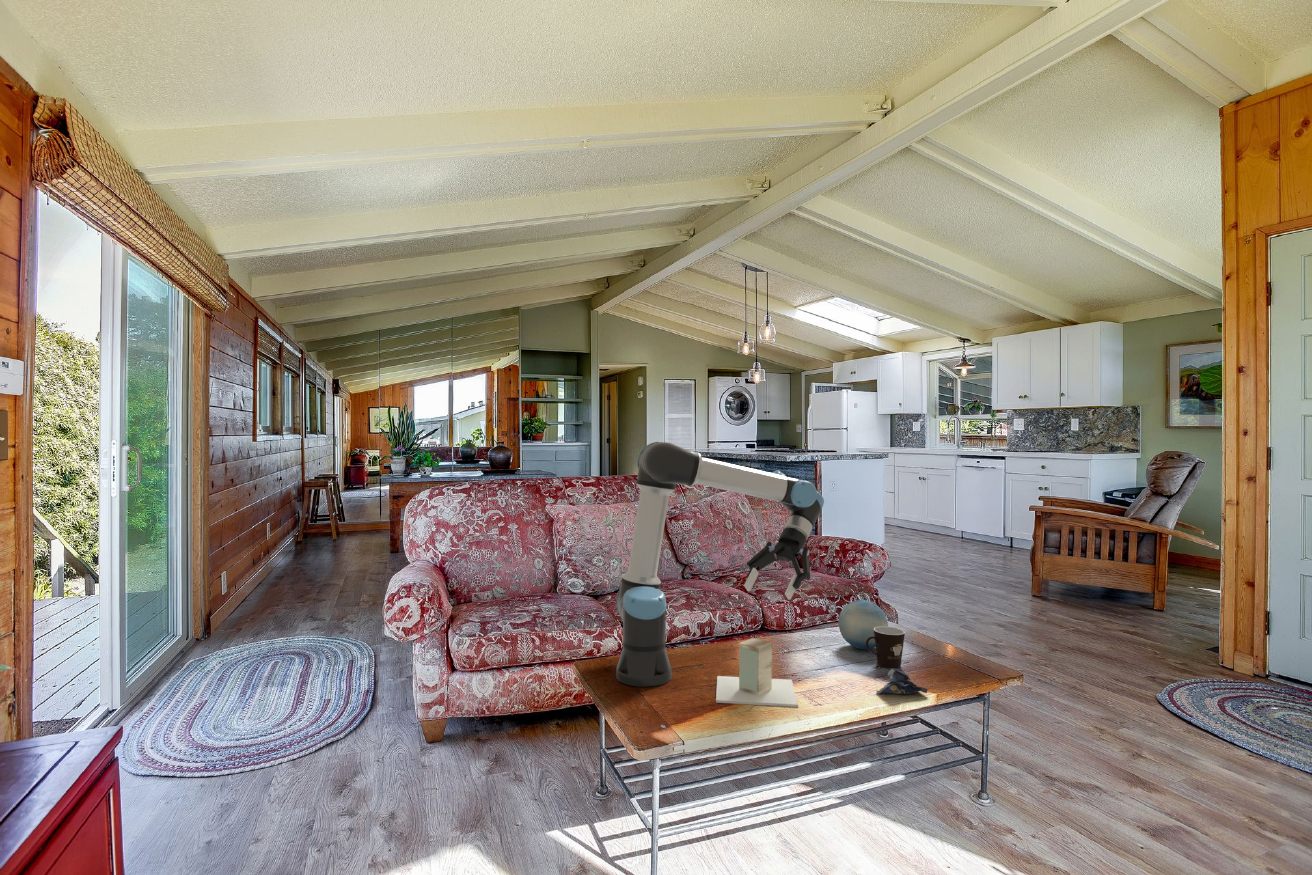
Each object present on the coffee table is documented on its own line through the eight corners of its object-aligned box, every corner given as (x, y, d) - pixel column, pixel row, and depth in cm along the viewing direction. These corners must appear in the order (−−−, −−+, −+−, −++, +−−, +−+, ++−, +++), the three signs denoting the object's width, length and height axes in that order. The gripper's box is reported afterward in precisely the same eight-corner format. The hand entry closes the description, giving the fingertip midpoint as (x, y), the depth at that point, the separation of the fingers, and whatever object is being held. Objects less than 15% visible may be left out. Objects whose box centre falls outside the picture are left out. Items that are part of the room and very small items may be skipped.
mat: (715, 702, 163) (715, 699, 163) (717, 678, 180) (717, 675, 180) (798, 706, 161) (798, 704, 161) (791, 681, 178) (791, 679, 178)
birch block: (738, 689, 170) (738, 643, 170) (752, 683, 175) (752, 637, 175) (757, 696, 166) (758, 648, 166) (771, 689, 171) (771, 642, 171)
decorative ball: (898, 650, 205) (898, 602, 205) (865, 658, 197) (866, 608, 197) (860, 638, 218) (860, 593, 218) (828, 645, 210) (828, 598, 210)
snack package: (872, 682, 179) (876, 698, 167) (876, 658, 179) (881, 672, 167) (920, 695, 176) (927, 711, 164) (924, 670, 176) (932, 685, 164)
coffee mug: (900, 660, 196) (900, 626, 196) (908, 670, 188) (908, 635, 188) (860, 658, 197) (860, 625, 197) (866, 668, 189) (866, 633, 189)
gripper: (837, 547, 191) (810, 608, 180) (764, 537, 208) (736, 592, 197) (829, 530, 187) (800, 592, 176) (755, 522, 204) (725, 577, 193)
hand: (766, 592), depth 186 cm, fingers open, 13 cm apart
